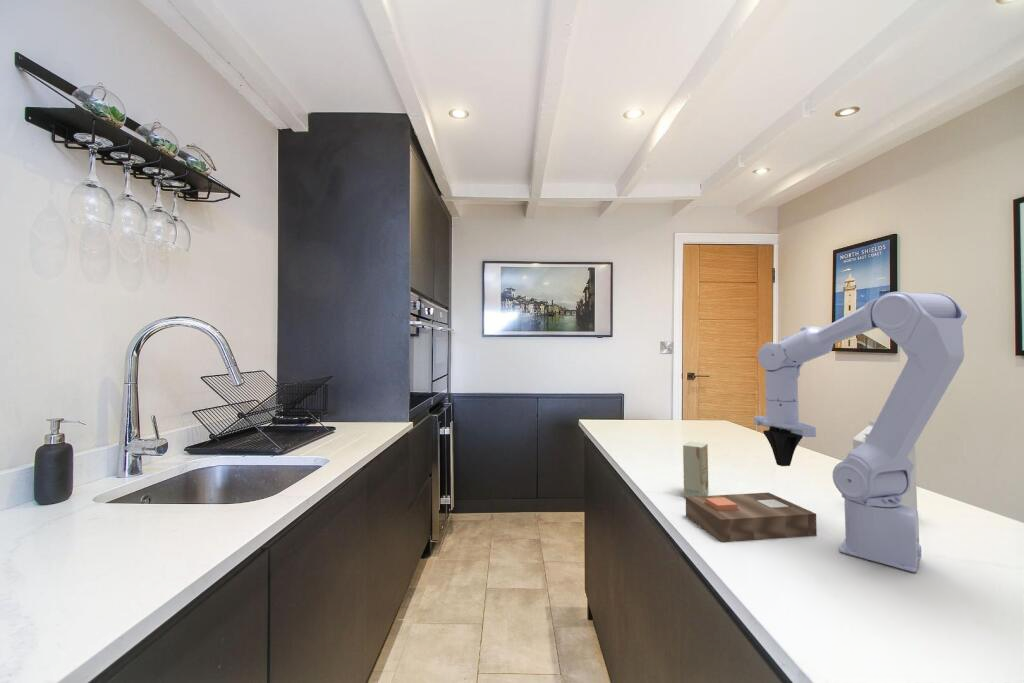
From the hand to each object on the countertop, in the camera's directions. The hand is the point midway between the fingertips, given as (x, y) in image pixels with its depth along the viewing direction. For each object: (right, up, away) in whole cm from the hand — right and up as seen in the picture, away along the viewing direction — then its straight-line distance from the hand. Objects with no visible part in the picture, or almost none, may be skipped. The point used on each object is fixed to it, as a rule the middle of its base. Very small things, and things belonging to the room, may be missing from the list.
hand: (783, 465), depth 87 cm
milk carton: (+21, -11, 0) cm, 24 cm away
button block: (-10, -10, -5) cm, 16 cm away
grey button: (-5, -10, -4) cm, 12 cm away
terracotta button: (-16, -9, -6) cm, 19 cm away
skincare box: (-13, -11, +12) cm, 21 cm away
